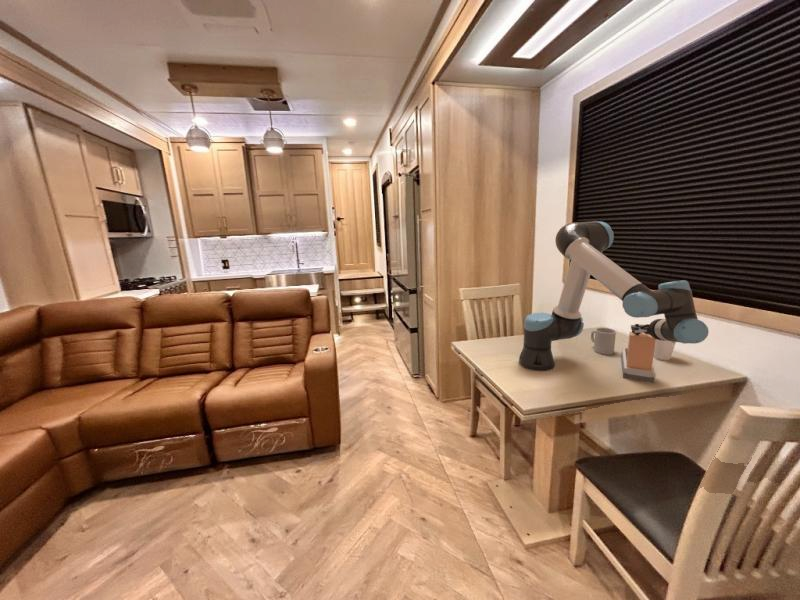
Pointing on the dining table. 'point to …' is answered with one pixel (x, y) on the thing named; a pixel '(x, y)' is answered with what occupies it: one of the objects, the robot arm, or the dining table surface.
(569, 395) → the dining table surface
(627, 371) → the shallow rimmed tray
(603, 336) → the mug
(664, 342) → the foam cup
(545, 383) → the dining table surface
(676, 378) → the dining table surface
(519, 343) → the dining table surface
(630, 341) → the large orange block
